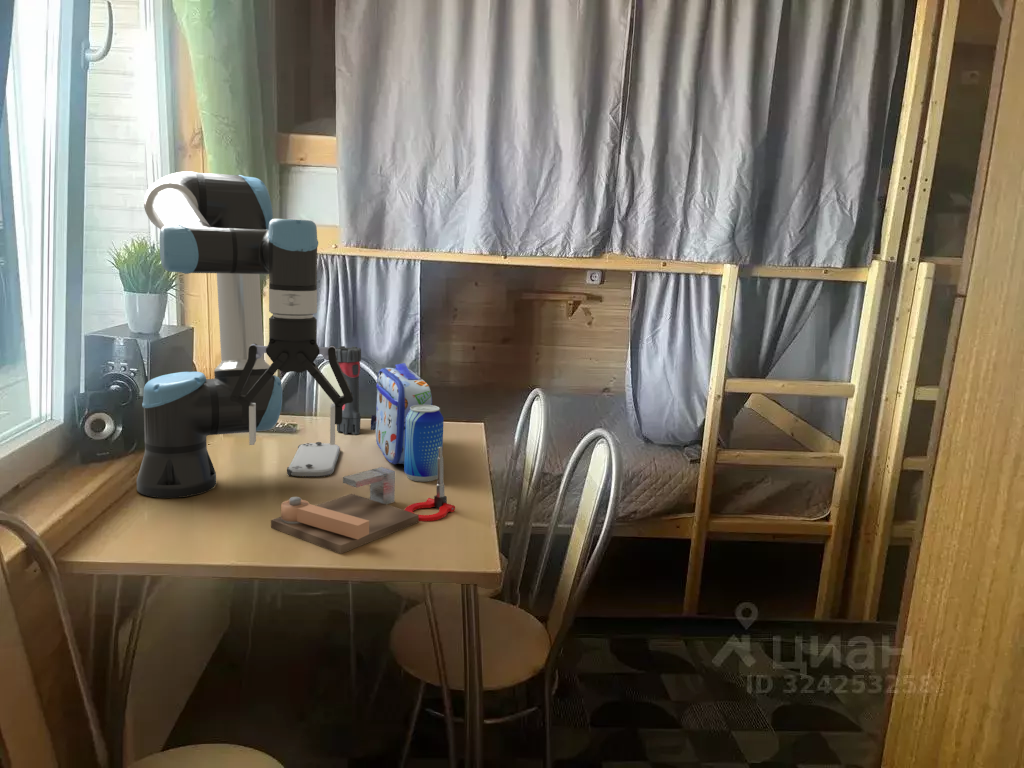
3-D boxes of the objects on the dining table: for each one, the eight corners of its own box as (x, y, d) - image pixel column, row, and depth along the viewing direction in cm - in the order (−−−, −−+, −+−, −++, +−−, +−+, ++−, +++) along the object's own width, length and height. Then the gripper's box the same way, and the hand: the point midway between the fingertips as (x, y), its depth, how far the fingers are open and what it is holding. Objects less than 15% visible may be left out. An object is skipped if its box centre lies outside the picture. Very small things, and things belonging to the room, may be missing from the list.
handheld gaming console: (332, 467, 173) (285, 467, 172) (332, 479, 174) (285, 479, 173) (341, 440, 196) (299, 439, 195) (341, 450, 196) (299, 450, 195)
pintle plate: (271, 527, 144) (271, 517, 143) (351, 500, 160) (351, 491, 160) (340, 553, 134) (340, 543, 134) (418, 522, 150) (418, 512, 150)
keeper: (355, 513, 153) (356, 481, 152) (342, 508, 155) (343, 476, 154) (394, 502, 161) (395, 471, 159) (381, 497, 163) (381, 466, 162)
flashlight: (333, 427, 217) (333, 344, 213) (361, 428, 218) (363, 345, 213) (329, 434, 209) (330, 349, 205) (359, 435, 210) (360, 350, 206)
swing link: (275, 517, 143) (275, 499, 143) (295, 510, 147) (295, 492, 147) (354, 541, 135) (354, 521, 134) (372, 532, 139) (372, 513, 138)
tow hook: (427, 527, 149) (459, 512, 157) (426, 462, 147) (459, 450, 154) (395, 516, 154) (427, 502, 162) (394, 453, 151) (427, 442, 159)
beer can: (425, 469, 184) (427, 402, 181) (449, 478, 178) (451, 409, 175) (396, 475, 178) (398, 406, 175) (419, 485, 172) (421, 413, 169)
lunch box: (367, 441, 204) (368, 358, 200) (406, 439, 208) (408, 357, 204) (391, 473, 179) (393, 378, 175) (435, 470, 183) (438, 377, 179)
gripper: (209, 315, 123) (212, 449, 127) (369, 320, 127) (367, 448, 132) (217, 310, 130) (220, 436, 134) (368, 315, 135) (366, 436, 139)
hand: (293, 442), depth 133 cm, fingers open, 12 cm apart
